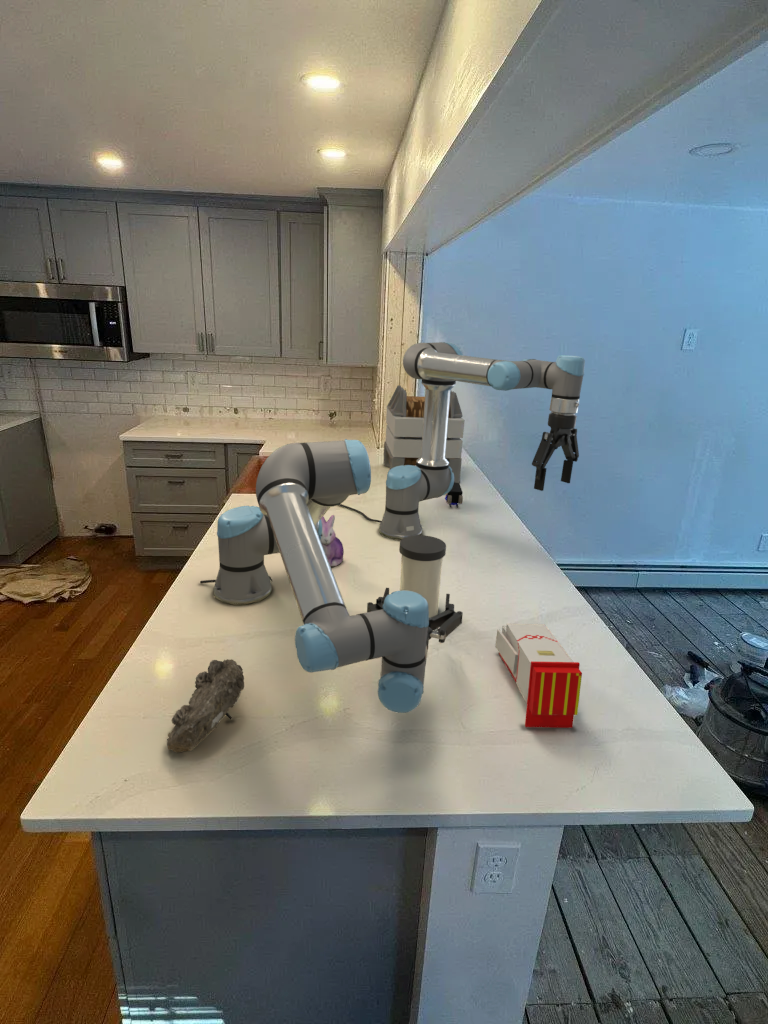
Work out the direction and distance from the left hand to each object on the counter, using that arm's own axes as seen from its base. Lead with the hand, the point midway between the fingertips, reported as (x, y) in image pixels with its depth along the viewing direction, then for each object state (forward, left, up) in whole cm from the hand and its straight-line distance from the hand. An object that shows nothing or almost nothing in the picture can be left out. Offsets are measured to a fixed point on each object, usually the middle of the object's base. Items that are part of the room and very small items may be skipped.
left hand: (417, 595), depth 128 cm
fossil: (-36, -30, -14) cm, 49 cm away
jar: (0, +19, -14) cm, 23 cm away
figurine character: (+6, +109, -14) cm, 110 cm away
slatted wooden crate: (-11, +151, -14) cm, 152 cm away
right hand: (+34, +50, +14) cm, 62 cm away
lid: (0, +19, +5) cm, 19 cm away
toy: (+26, -8, -14) cm, 30 cm away
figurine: (-30, +42, -14) cm, 54 cm away
